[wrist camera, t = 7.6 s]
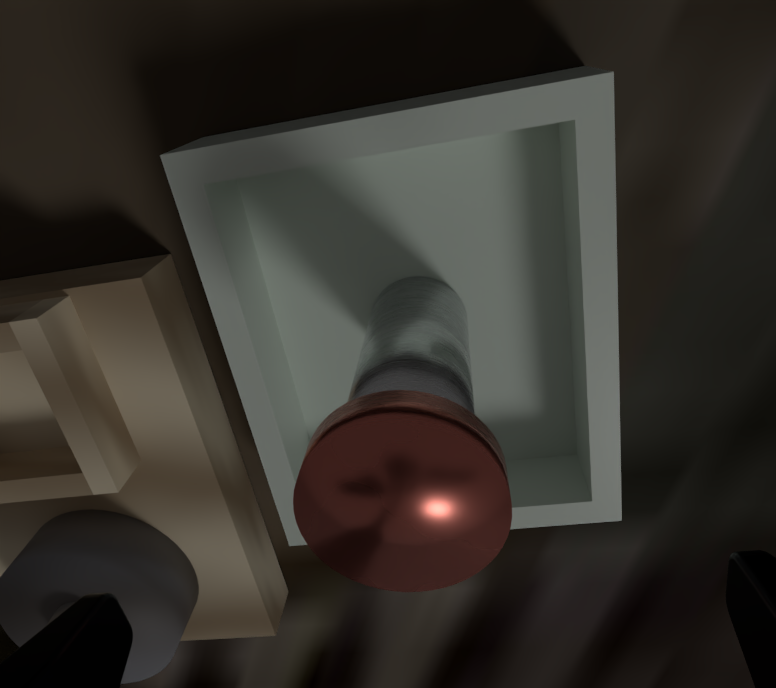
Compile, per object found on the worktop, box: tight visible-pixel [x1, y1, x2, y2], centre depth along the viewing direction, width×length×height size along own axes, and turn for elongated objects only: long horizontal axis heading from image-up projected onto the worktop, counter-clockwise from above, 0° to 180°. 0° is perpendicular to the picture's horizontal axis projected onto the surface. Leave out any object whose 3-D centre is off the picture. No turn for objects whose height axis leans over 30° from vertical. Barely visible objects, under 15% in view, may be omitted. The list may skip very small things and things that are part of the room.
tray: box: [160, 66, 622, 546], centre depth 17 cm, size 12×10×3 cm
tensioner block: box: [0, 254, 288, 684], centre depth 20 cm, size 14×10×5 cm
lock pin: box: [293, 276, 512, 592], centre depth 14 cm, size 4×4×8 cm
